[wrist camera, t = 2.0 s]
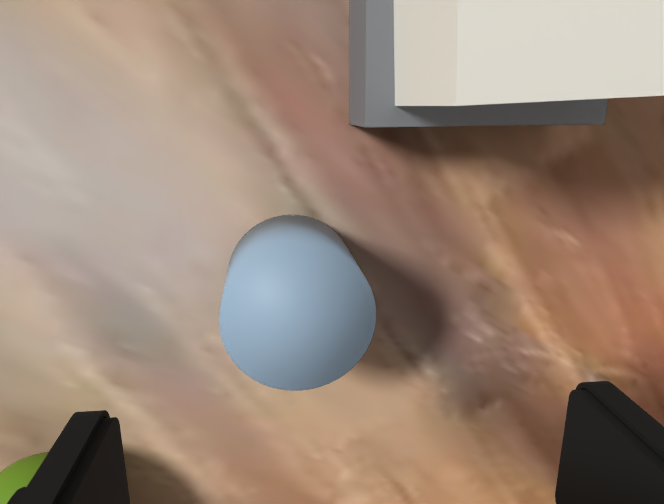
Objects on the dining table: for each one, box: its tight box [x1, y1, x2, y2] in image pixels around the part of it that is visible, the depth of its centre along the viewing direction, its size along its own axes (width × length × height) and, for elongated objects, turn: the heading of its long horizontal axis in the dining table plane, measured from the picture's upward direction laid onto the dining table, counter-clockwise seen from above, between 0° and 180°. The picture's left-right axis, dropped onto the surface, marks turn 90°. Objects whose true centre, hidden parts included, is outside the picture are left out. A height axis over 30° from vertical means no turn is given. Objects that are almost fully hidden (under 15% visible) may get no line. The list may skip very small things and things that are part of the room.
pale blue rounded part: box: [219, 215, 376, 391], centre depth 21 cm, size 6×6×5 cm
